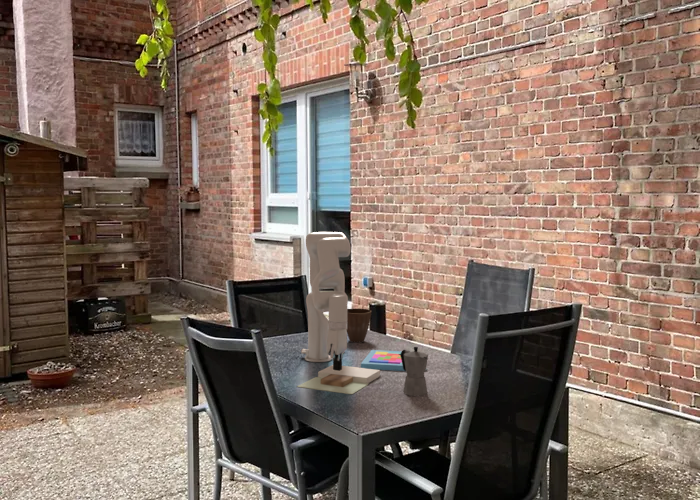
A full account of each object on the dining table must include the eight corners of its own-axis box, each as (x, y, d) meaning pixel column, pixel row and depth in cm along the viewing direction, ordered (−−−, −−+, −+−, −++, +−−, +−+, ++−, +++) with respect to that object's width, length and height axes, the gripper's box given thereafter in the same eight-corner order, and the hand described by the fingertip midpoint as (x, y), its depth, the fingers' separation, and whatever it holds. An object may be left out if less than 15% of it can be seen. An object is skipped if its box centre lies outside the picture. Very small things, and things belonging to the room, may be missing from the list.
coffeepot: (436, 395, 266) (436, 348, 265) (417, 399, 261) (417, 351, 259) (410, 386, 279) (410, 341, 277) (391, 389, 273) (391, 344, 272)
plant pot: (371, 344, 357) (371, 313, 355) (342, 344, 357) (342, 313, 356) (370, 338, 371) (371, 308, 370) (342, 338, 372) (343, 308, 370)
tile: (320, 383, 280) (320, 379, 280) (330, 378, 288) (330, 373, 288) (342, 387, 276) (342, 382, 275) (352, 381, 284) (352, 376, 283)
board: (318, 377, 291) (318, 371, 290) (333, 370, 303) (333, 364, 303) (366, 384, 281) (366, 377, 281) (380, 376, 294) (380, 370, 294)
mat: (297, 386, 276) (297, 386, 276) (316, 377, 291) (316, 376, 291) (352, 394, 266) (352, 393, 266) (368, 384, 281) (368, 383, 281)
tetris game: (360, 369, 306) (424, 373, 301) (360, 363, 306) (424, 366, 301) (371, 355, 334) (430, 358, 328) (371, 349, 334) (430, 352, 328)
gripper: (337, 320, 289) (337, 364, 291) (320, 327, 275) (320, 373, 277) (354, 322, 286) (353, 366, 288) (338, 329, 272) (337, 375, 274)
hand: (337, 369), depth 282 cm, fingers closed
